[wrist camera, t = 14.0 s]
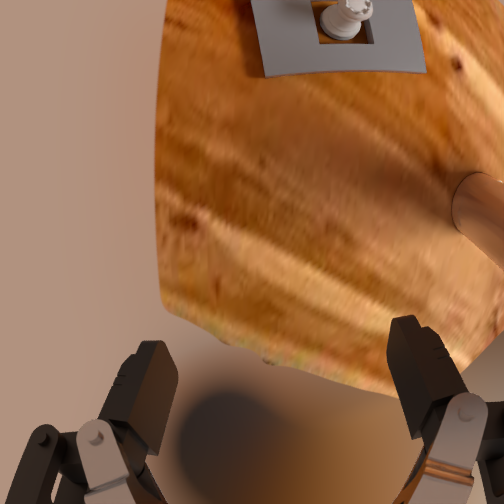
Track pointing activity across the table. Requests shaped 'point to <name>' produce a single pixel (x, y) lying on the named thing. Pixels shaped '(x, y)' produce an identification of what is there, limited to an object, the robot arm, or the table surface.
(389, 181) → the table surface
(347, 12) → the rook chess piece
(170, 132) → the table surface
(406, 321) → the robot arm
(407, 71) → the socket dock
